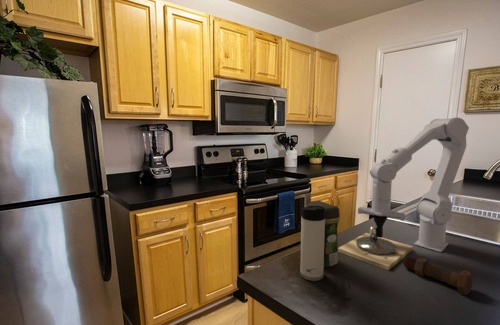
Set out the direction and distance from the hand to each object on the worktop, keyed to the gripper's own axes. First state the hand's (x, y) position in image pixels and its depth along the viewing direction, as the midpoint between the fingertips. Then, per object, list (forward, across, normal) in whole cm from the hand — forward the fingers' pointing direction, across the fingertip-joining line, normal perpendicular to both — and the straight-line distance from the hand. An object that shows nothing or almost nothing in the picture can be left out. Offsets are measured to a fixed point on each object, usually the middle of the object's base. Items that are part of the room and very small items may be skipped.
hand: (379, 236), depth 90 cm
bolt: (+4, +16, -14) cm, 22 cm away
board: (+3, 0, -5) cm, 6 cm away
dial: (+2, 0, -5) cm, 5 cm away
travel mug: (+3, -12, -31) cm, 34 cm away
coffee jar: (+3, -13, -22) cm, 26 cm away
